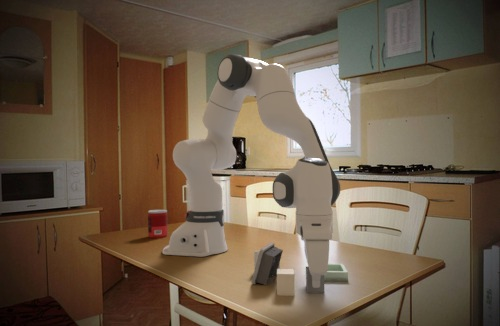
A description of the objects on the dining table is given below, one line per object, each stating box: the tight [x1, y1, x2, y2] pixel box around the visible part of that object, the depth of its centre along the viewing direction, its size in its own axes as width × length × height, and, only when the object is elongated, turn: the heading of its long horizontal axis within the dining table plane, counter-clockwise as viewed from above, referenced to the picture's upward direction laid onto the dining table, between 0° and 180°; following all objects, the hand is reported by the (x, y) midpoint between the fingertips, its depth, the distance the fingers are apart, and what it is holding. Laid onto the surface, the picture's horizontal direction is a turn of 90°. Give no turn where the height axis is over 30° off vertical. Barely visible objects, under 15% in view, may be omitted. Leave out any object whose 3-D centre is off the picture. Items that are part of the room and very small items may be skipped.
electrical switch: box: [251, 242, 284, 286], centre depth 97 cm, size 9×5×9 cm, turn 158°
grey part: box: [305, 266, 325, 294], centre depth 89 cm, size 4×4×5 cm
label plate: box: [253, 250, 281, 269], centre depth 104 cm, size 7×1×6 cm, turn 85°
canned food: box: [147, 209, 168, 239], centre depth 157 cm, size 8×8×11 cm
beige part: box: [276, 268, 296, 297], centre depth 88 cm, size 4×4×5 cm
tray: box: [324, 263, 349, 282], centre depth 100 cm, size 8×8×2 cm
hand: (314, 282), depth 89 cm, fingers closed on grey part, 4 cm apart
